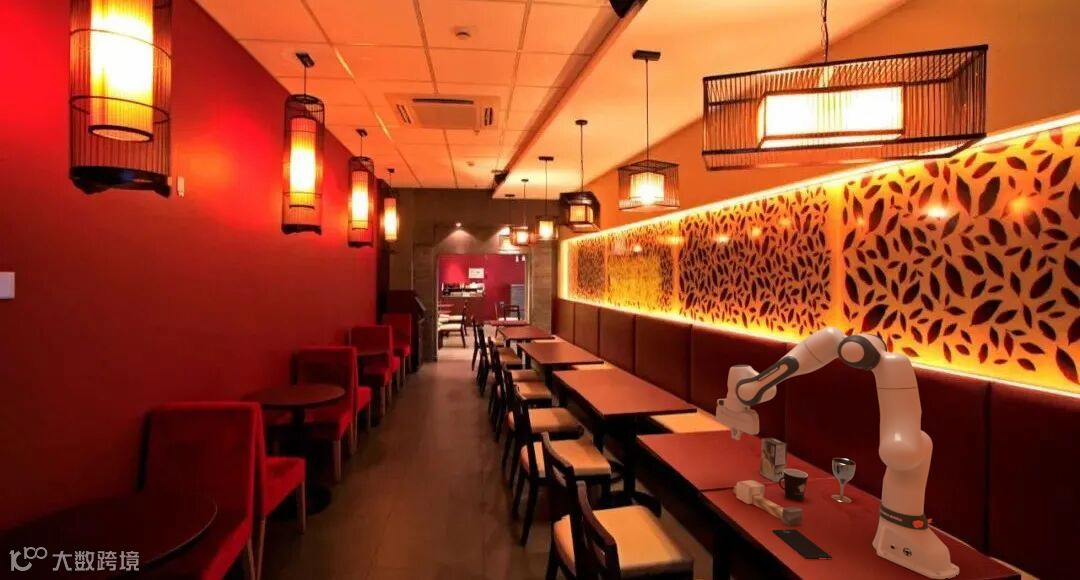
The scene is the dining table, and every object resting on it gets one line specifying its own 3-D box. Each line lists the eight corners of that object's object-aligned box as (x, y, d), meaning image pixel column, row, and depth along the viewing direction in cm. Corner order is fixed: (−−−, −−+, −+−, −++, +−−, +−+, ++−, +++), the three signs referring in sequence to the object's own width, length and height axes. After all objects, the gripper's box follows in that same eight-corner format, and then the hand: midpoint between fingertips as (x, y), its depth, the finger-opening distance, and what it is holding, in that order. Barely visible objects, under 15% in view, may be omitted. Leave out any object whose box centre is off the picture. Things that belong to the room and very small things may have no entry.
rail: (801, 523, 185) (802, 509, 185) (789, 526, 182) (789, 512, 182) (742, 491, 211) (742, 479, 210) (730, 493, 208) (731, 481, 208)
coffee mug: (801, 494, 211) (802, 469, 211) (809, 503, 202) (811, 478, 202) (771, 491, 212) (772, 467, 212) (778, 500, 204) (780, 475, 203)
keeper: (763, 501, 202) (764, 485, 202) (747, 504, 199) (748, 488, 198) (751, 495, 207) (752, 479, 207) (735, 497, 204) (736, 481, 204)
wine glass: (833, 501, 206) (836, 463, 205) (827, 493, 214) (829, 456, 213) (855, 504, 204) (858, 466, 204) (849, 496, 212) (851, 459, 211)
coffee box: (786, 481, 224) (788, 444, 224) (773, 482, 222) (776, 444, 222) (770, 473, 233) (773, 437, 233) (758, 474, 231) (761, 438, 231)
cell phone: (795, 531, 180) (795, 528, 180) (832, 560, 162) (832, 557, 162) (771, 532, 178) (771, 529, 178) (806, 561, 161) (806, 558, 161)
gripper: (764, 411, 202) (762, 446, 202) (726, 398, 221) (724, 430, 221) (751, 412, 199) (749, 448, 200) (714, 399, 218) (712, 432, 218)
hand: (735, 438), depth 210 cm, fingers closed
